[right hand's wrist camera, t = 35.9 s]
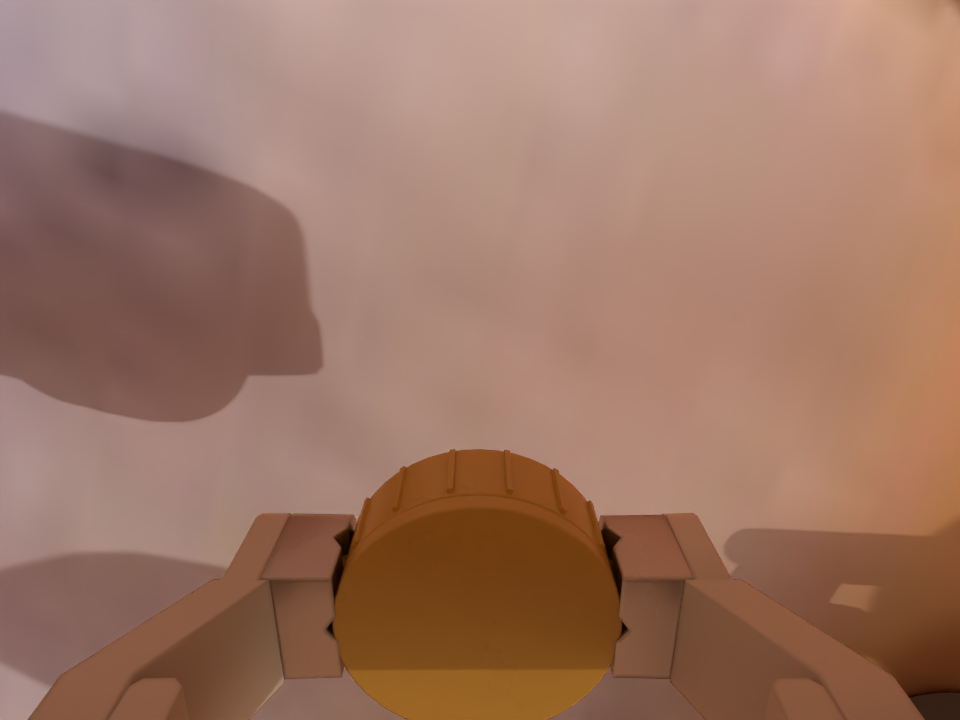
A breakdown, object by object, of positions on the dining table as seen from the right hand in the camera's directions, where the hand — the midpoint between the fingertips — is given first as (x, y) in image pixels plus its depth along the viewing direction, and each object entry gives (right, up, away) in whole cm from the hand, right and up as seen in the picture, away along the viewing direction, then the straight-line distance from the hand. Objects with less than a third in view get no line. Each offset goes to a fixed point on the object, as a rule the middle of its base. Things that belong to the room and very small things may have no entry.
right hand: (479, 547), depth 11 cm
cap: (0, -1, -1) cm, 2 cm away
